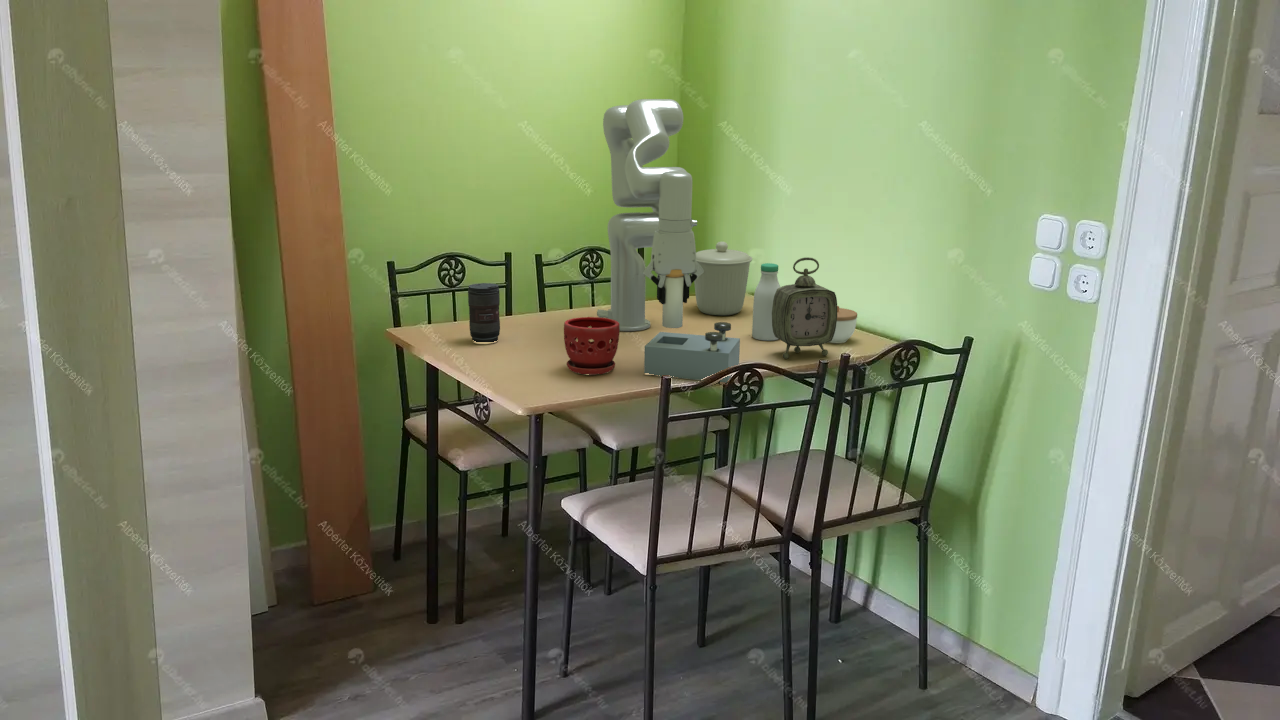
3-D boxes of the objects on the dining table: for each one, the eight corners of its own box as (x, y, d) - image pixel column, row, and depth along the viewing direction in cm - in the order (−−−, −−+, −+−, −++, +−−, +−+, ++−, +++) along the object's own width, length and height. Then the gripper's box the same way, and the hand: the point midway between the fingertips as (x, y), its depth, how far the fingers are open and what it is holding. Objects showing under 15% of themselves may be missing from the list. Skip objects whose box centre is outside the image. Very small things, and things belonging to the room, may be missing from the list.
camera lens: (506, 339, 265) (505, 284, 261) (489, 346, 258) (488, 289, 254) (481, 335, 268) (479, 281, 264) (463, 343, 261) (461, 286, 257)
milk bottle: (779, 342, 265) (783, 267, 259) (750, 340, 267) (753, 266, 261) (781, 334, 272) (785, 262, 267) (753, 333, 274) (756, 261, 268)
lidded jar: (807, 337, 271) (809, 303, 268) (842, 334, 274) (844, 300, 271) (827, 347, 261) (829, 312, 258) (863, 343, 264) (865, 309, 262)
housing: (644, 374, 236) (644, 346, 234) (659, 359, 248) (660, 331, 246) (727, 382, 230) (728, 353, 228) (738, 366, 243) (740, 338, 241)
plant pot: (620, 377, 233) (621, 328, 230) (564, 378, 232) (563, 328, 229) (617, 362, 246) (618, 314, 242) (564, 362, 245) (563, 315, 241)
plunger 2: (711, 354, 240) (712, 325, 238) (715, 350, 244) (716, 321, 242) (728, 355, 239) (729, 326, 237) (731, 351, 243) (732, 322, 241)
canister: (677, 313, 295) (679, 242, 289) (709, 302, 309) (711, 234, 303) (730, 322, 285) (733, 249, 279) (761, 310, 299) (764, 240, 294)
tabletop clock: (781, 361, 247) (786, 261, 240) (767, 351, 256) (771, 255, 249) (834, 357, 251) (841, 259, 244) (818, 348, 260) (824, 252, 253)
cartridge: (659, 323, 240) (660, 266, 236) (679, 322, 241) (680, 265, 237) (665, 328, 235) (666, 270, 231) (685, 327, 237) (687, 269, 232)
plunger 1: (702, 365, 231) (703, 335, 229) (706, 361, 235) (707, 331, 233) (719, 367, 230) (720, 337, 228) (723, 362, 233) (724, 332, 231)
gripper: (705, 222, 237) (702, 297, 242) (635, 224, 233) (634, 300, 238) (714, 227, 230) (711, 304, 235) (643, 229, 226) (641, 307, 231)
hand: (672, 301), depth 236 cm, fingers closed on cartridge, 4 cm apart
